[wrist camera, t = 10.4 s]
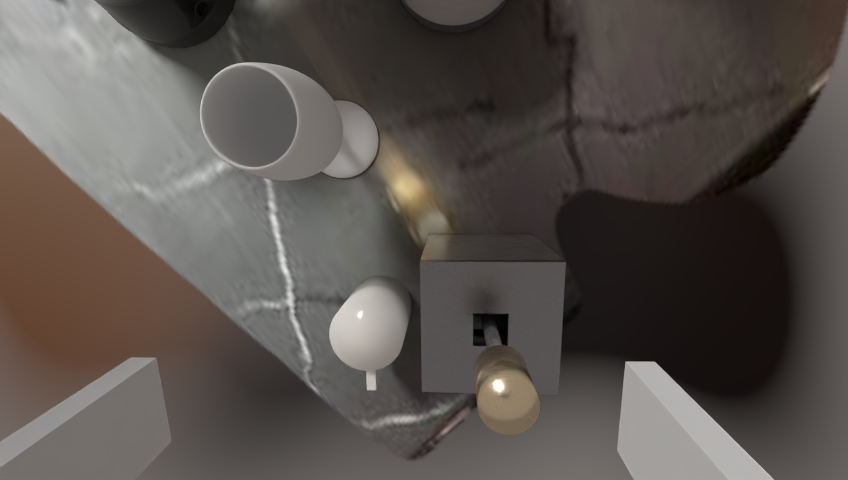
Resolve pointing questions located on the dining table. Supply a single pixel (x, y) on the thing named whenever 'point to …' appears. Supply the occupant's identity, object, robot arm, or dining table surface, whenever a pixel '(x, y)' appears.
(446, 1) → the planter
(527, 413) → the plunger
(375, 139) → the wineglass
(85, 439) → the robot arm
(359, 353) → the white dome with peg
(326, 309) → the dining table surface
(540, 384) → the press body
